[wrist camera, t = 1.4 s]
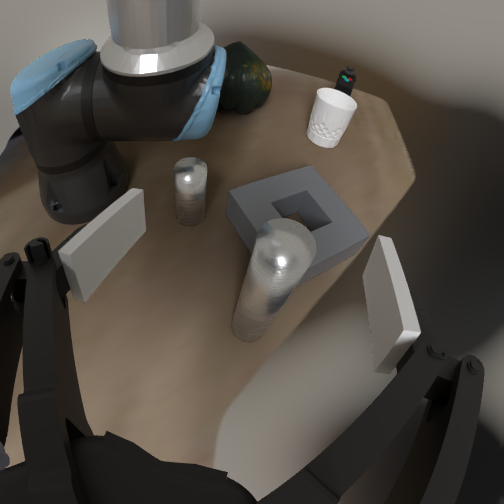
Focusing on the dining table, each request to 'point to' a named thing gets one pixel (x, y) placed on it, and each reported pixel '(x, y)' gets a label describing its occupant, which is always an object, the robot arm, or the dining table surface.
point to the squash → (244, 80)
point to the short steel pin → (190, 190)
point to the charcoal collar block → (307, 206)
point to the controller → (346, 81)
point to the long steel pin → (272, 275)
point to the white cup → (330, 117)
